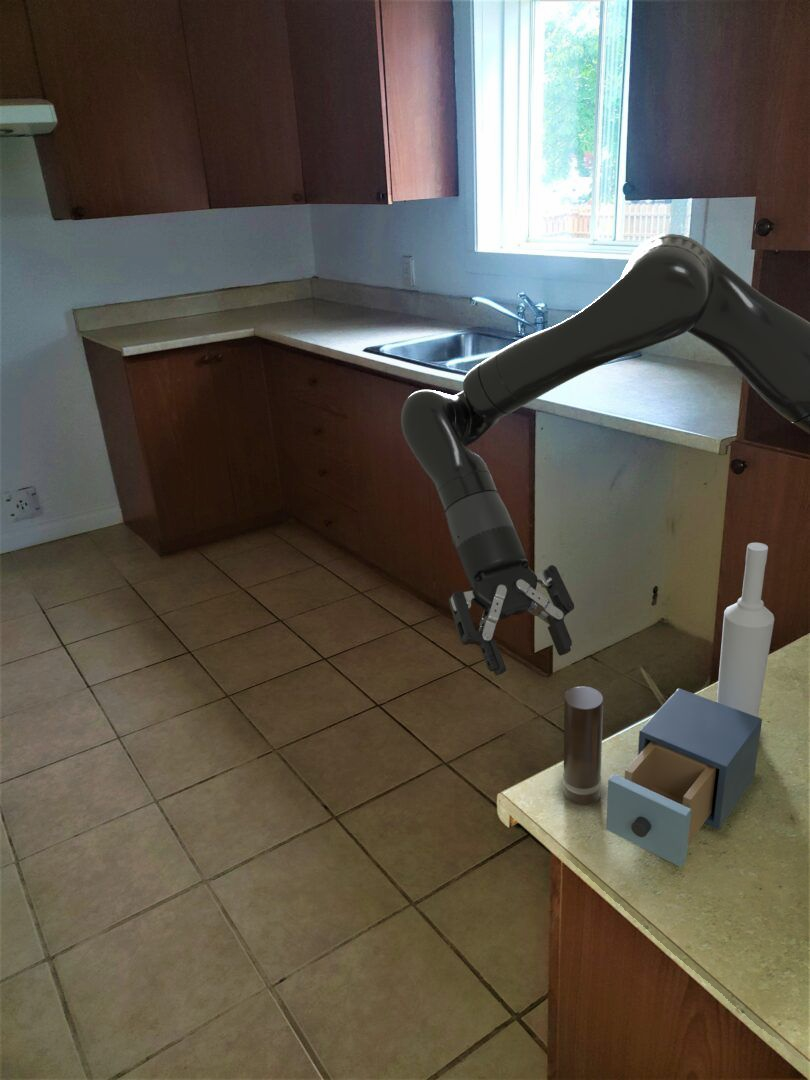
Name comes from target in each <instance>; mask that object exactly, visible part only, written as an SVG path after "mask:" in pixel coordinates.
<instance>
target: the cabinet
mask: <svg viewBox="0 0 810 1080" xmlns="http://www.w3.org/2000/svg"><path fill="white" fill-rule="evenodd" d="M762 723H763V718H762V717H759V716H758V717H756V716H753V715H750V714H748V713H745V712H742V711H739V710H737V709H734V708H731V707H728V706H726V705H723V704H720V703H718V702H717V701H715V700H712V699H709V698H706V697H704V696H701V695H698V694H696V693H693V692H690V691H688V690H685V689H682V688H680V687H679V688H677V689H676V690H675V692H674V693H673V694H672V695H671V696H670V697H669V698H668V699H667V700H666V701H665V702H664V703H663V704H662V706H661V707H659V709H658V710H657V711H656V712H655V713H654V714H653V716H651V718H650V719H649V720H648V721H647V722H646V723H645V724H644V725H643V726H642V728H641V729H640V730H639V732H638V734H639V736H638V749H637V756H638V755H639V754H640V753H641V752H642V751H643V750H644V748H645V747H646V746H647V745H648V744H649V743H650V742H651V741H653V742H655V743H658V744H660V745H662V746H665V747H667V748H670V749H672V750H674V751H677V752H679V753H681V754H684V755H686V756H689V757H691V758H693V759H696V760H698V761H701V762H703V763H705V764H708V765H710V766H713V767H715V768H716V776H715V785H714V794H713V802H712V811H711V814H710V816H709V817H708V818H707V820H706V821H705V823H704V824H705V825H708V826H710V827H712V828H714V829H716V830H719V831H720V829H721V828H722V826H723V825H724V824H725V822H726V820H727V819H728V818H729V816H730V815H731V813H732V812H733V810H734V809H735V807H736V806H737V804H738V803H739V802H740V800H741V799H742V797H743V796H744V794H745V793H746V792H747V790H748V788H749V787H750V786H751V784H752V783H753V781H754V780H755V774H756V773H755V772H756V767H757V759H758V751H759V744H760V737H761V733H762V731H761V730H762Z"/></svg>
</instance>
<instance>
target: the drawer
mask: <svg viewBox="0 0 810 1080" xmlns="http://www.w3.org/2000/svg"><path fill="white" fill-rule="evenodd" d="M715 776H716V768H715V767H713V766H710V765H708V764H705V763H703V762H701V761H698V760H696V759H693V758H691V757H689V756H686V755H684V754H681V753H679V752H677V751H674V750H672V749H670V748H667V747H665V746H662V745H660V744H658V743H655V742H653V741H651V742H650V743H649V744H648V745H647V746H646V747H645V748H644V750H643V751H642V752H641V753H640V754H639V755H638V754H637V756H636V757H635V758H634V760H632V762H631V763H630V764H629V765H628V766H627V768H625V770H624V777H622V776H620V775H618V774H616V773H613V774H612V775H611V776H610V777H609V779H608V780H607V796H606V797H607V801H606V823H605V824H606V825H605V830H607V831H609V832H610V833H613V834H615V835H616V836H617V837H620V838H622V839H624V840H626V841H628V842H630V843H631V844H634V845H636V846H637V847H640V848H641V849H644V850H646V851H648V852H649V853H652V854H653V855H656V856H657V857H659V858H661V859H663V860H665V861H667V862H669V863H671V864H672V865H675V866H677V867H679V868H682V867H683V866H684V865H685V863H686V861H687V858H688V847H689V845H690V844H691V842H692V841H693V839H694V838H695V837H696V835H697V834H698V832H699V831H700V829H702V827H703V825H704V824H705V821H706V820H707V818H708V817H709V816H710V814H711V811H712V802H713V794H714V785H715Z"/></svg>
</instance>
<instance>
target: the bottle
mask: <svg viewBox="0 0 810 1080" xmlns="http://www.w3.org/2000/svg"><path fill="white" fill-rule="evenodd" d="M768 552H769V547H768V545H767V544H765V543H762V542H750V543H748V544H747V546H746V553H745V567H744V573H743V583H742V591H741V592H742V593H741V597H739V598H738V599H737V602H735V603H734V604H731V605H729V606H727V607H726V608H725V610H724V611H723V622H722V635H721V647H720V656H719V657H720V658H719V669H718V680H717V693H716V702H718V703H720V704H723V705H726V706H728V707H731V708H734V709H737V710H739V711H742V712H745V713H748V714H750V715H753V716H756V717H758V718H759V713H760V707H761V702H762V695H763V689H764V684H765V679H766V678H765V677H766V672H767V665H768V660H769V655H770V648H771V641H772V636H773V630H774V624H775V616H774V614H773V613H772V612H771V611H770V610H769V609H768V608H767V607H766V606H765V602H764V601H763V600H762V594H763V586H764V579H765V571H766V570H765V569H766V564H767V560H768Z"/></svg>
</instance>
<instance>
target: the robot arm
mask: <svg viewBox="0 0 810 1080" xmlns="http://www.w3.org/2000/svg"><path fill="white" fill-rule="evenodd" d="M685 333H689V334H690V335H692V336H693V337H696V338H697V339H699V340H700V341H702V342H704V343H706V344H707V345H709V346H710V347H712V348H713V349H715V350H716V351H718V352H719V353H720V354H721V355H722V356H723V357H725V359H726V360H727V361H728V362H730V364H731V365H732V366H733V367H734V368H735V369H736V370H737V372H739V374H741V376H742V377H743V378H744V379H745V381H746V382H747V384H749V385H750V386H751V387H752V388H753V389H754V390H755V392H756V393H757V394H758V395H759V396H760V397H761V398H762V399H763V400H764V401H765V402H766V403H767V404H768V405H769V406H770V407H771V408H772V409H774V411H776V412H777V413H778V414H779V415H781V416H782V417H784V418H785V419H786V420H787V421H789V422H791V423H792V424H793V425H794V426H797V427H798V428H799V429H801V430H803V431H804V432H806V433H807V434H808V435H810V322H809V321H808V320H806V319H805V318H804V317H801V316H799V314H796V313H794V312H792V311H791V310H789V309H787V308H786V307H785V306H784V307H783V306H782V305H780V304H778V303H777V302H775V301H773V300H772V299H770V298H768V297H767V296H765V295H764V294H762V293H761V292H759V291H758V290H757V289H756V288H754V287H753V286H752V285H751V284H749V283H748V282H747V281H746V280H744V279H743V278H742V277H741V276H739V275H738V274H737V273H736V272H735V271H734V270H732V269H731V268H730V267H729V266H727V265H726V264H725V263H724V262H723V261H721V260H720V259H719V258H718V257H717V256H716V255H714V254H713V253H712V252H710V250H708V249H707V247H705V246H703V244H701V243H700V242H699V241H697V240H695V239H693V238H691V237H688V236H686V235H683V234H676V233H667V234H659V235H655V236H653V237H650V238H648V239H646V240H645V241H643V242H642V243H641V244H640V245H639V246H638V247H637V248H635V250H634V251H633V253H632V254H631V256H630V257H629V259H628V261H627V263H626V266H625V268H624V270H623V271H622V274H621V276H620V279H618V280H617V281H616V282H615V283H613V285H612V286H611V287H610V288H609V289H607V290H606V291H605V292H604V293H603V294H601V295H600V296H598V298H597V299H595V300H594V301H593V302H592V303H590V304H589V305H588V306H586V307H584V308H583V309H582V310H581V311H579V312H578V313H576V314H574V315H572V316H571V317H569V318H567V319H565V320H564V321H562V322H560V323H558V324H556V325H553V326H552V327H548V328H546V329H543V330H540V331H537V332H534V333H531V334H529V335H527V336H525V337H523V338H520V339H518V340H516V341H515V342H512V343H511V344H509V345H507V346H505V347H504V348H502V349H500V350H498V351H497V352H496V353H494V354H493V355H491V356H489V357H488V358H486V359H484V360H483V361H481V362H480V363H478V364H476V365H475V366H474V367H472V368H471V369H469V371H468V372H467V373H466V375H465V376H464V378H463V382H462V391H460V392H458V393H457V394H454V395H452V394H448V393H444V392H441V391H436V390H432V389H421V390H417V391H414V392H413V393H411V394H410V395H408V397H407V398H406V400H404V402H403V405H402V408H401V411H400V426H401V432H402V435H403V438H404V440H405V442H406V444H407V446H408V448H409V449H410V451H411V453H412V455H413V456H414V457H415V458H416V461H417V462H418V464H419V465H420V466H421V468H422V469H423V471H424V472H425V474H426V475H427V476H428V478H429V479H430V480H431V482H432V483H433V485H434V488H435V491H436V494H437V496H438V499H439V501H440V504H441V507H442V510H443V512H444V515H445V518H446V522H447V527H448V531H449V534H450V537H451V541H452V542H451V543H452V545H453V546H454V548H455V550H456V553H457V555H458V558H459V560H460V563H461V565H462V569H463V572H464V574H465V577H466V579H467V581H468V583H469V586H470V590H468V591H463V590H460V589H459V590H455V592H454V593H453V594H452V595H451V596H450V597H449V598H448V604H449V607H450V611H451V614H452V618H453V621H454V624H455V628H456V631H457V634H458V637H459V640H460V643H461V644H462V645H464V646H467V645H476V646H478V647H479V649H480V652H481V655H482V657H483V659H484V662H485V665H486V667H487V669H488V670H489V672H490V673H492V672H493V673H494V675H495V677H497V676H499V675H502V674H504V673H506V672H507V666H506V664H505V662H504V658H503V656H502V653H501V651H500V648H499V646H498V643H497V640H496V639H493V636H494V632H495V629H496V626H497V624H498V621H499V620H500V621H502V620H506V619H507V618H509V617H510V616H520V615H523V614H524V613H525V612H528V613H529V614H531V616H534V617H538V618H539V619H541V620H542V621H543V622H545V623H546V624H548V625H549V626H547V630H548V632H549V635H550V637H551V640H552V642H553V646H554V647H555V650H556V652H557V654H558V656H560V657H561V656H563V655H566V654H569V653H570V652H571V646H573V645H572V644H573V640H572V638H571V636H570V633H569V630H568V627H567V625H566V623H565V620H564V619H565V617H566V616H567V615H568V614H569V613H570V612H572V611H573V610H574V609H575V604H574V602H573V600H572V596H571V595H570V593H569V591H568V589H567V587H566V585H565V583H564V581H563V579H562V576H561V574H560V572H559V570H558V568H557V566H555V565H553V564H550V565H549V566H547V567H546V568H545V569H543V570H540V571H537V572H534V571H533V570H532V569H531V568H530V566H529V563H528V558H527V556H526V553H525V550H524V548H523V545H522V542H521V541H520V538H519V535H518V533H517V531H516V528H515V526H514V523H513V521H512V518H511V516H510V513H509V511H508V509H507V507H506V505H505V503H504V502H503V500H502V497H501V496H500V494H499V491H498V489H497V487H496V484H495V482H494V479H493V477H492V474H491V472H490V470H489V466H488V465H487V464H486V462H485V460H484V458H482V457H481V456H480V455H479V454H476V453H475V452H474V451H471V450H470V449H469V448H468V446H469V445H470V446H471V445H472V444H473V443H475V442H477V441H478V440H479V439H481V438H482V437H483V436H484V435H485V434H486V433H487V432H488V431H489V430H490V429H492V428H493V427H494V426H495V425H496V424H497V423H498V422H499V420H501V418H503V417H505V416H507V415H509V414H511V413H513V412H515V411H516V410H518V409H520V408H522V407H524V406H526V405H527V404H529V403H532V401H535V400H536V399H538V398H540V397H542V396H543V395H545V394H547V393H549V392H550V391H552V390H554V389H557V387H560V386H561V385H563V384H565V383H567V382H569V381H571V380H573V379H574V378H577V377H578V376H581V375H582V374H585V373H588V372H589V371H591V370H593V369H596V368H598V367H601V366H602V365H605V364H608V363H611V362H612V361H614V360H617V359H619V358H622V357H624V356H627V355H630V354H633V353H636V352H639V351H641V350H644V349H647V348H650V347H653V346H655V345H658V344H661V343H664V342H667V341H669V340H671V339H674V338H677V337H679V336H681V335H683V334H685ZM538 584H540V586H541V587H542V588H544V589H545V590H546V592H547V594H548V596H549V598H547V597H546V596H545V595H544V594H542V593H541V592H539V591H537V586H538ZM549 599H550V600H549ZM550 601H551V602H552V603H551V602H550ZM472 602H473V603H475V604H476V605H477V606H479V607H480V608H481V609H483V611H482V615H481V617H480V620H479V621H480V622H479V627H478V630H476V628H475V625H474V622H473V618H472V615H471V611H470V609H471V607H472Z"/></svg>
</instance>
